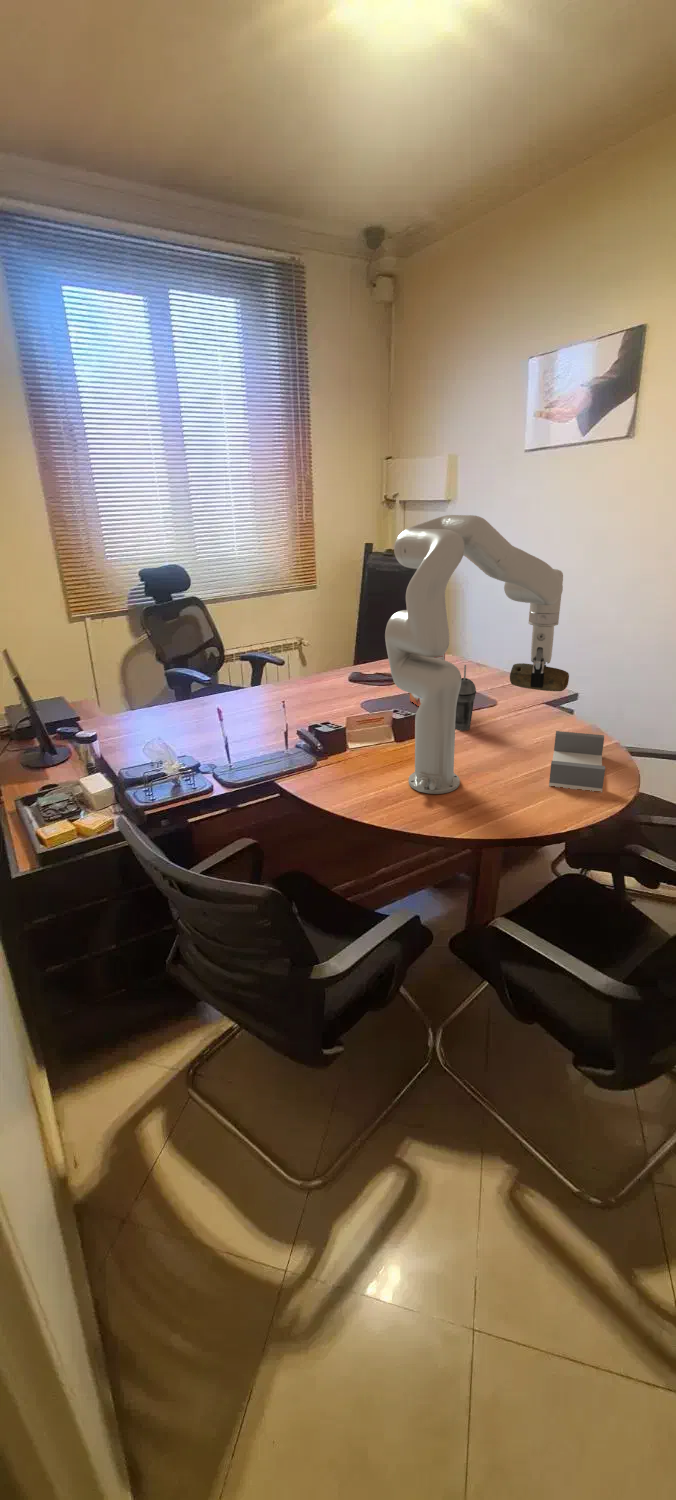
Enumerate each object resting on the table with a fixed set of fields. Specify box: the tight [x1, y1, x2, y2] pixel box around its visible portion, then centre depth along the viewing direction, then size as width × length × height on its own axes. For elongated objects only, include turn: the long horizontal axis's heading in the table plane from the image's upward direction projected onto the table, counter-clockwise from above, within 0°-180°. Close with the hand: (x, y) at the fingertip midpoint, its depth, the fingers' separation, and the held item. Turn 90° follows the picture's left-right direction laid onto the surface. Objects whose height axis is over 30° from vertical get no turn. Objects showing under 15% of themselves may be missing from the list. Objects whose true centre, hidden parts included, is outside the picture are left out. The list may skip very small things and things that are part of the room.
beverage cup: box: [455, 664, 477, 732], centre depth 186 cm, size 7×7×20 cm
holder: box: [548, 730, 606, 793], centre depth 159 cm, size 22×12×6 cm, turn 159°
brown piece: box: [509, 662, 570, 692], centre depth 171 cm, size 15×7×7 cm, turn 62°
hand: (537, 682), depth 171 cm, fingers closed on brown piece, 7 cm apart
